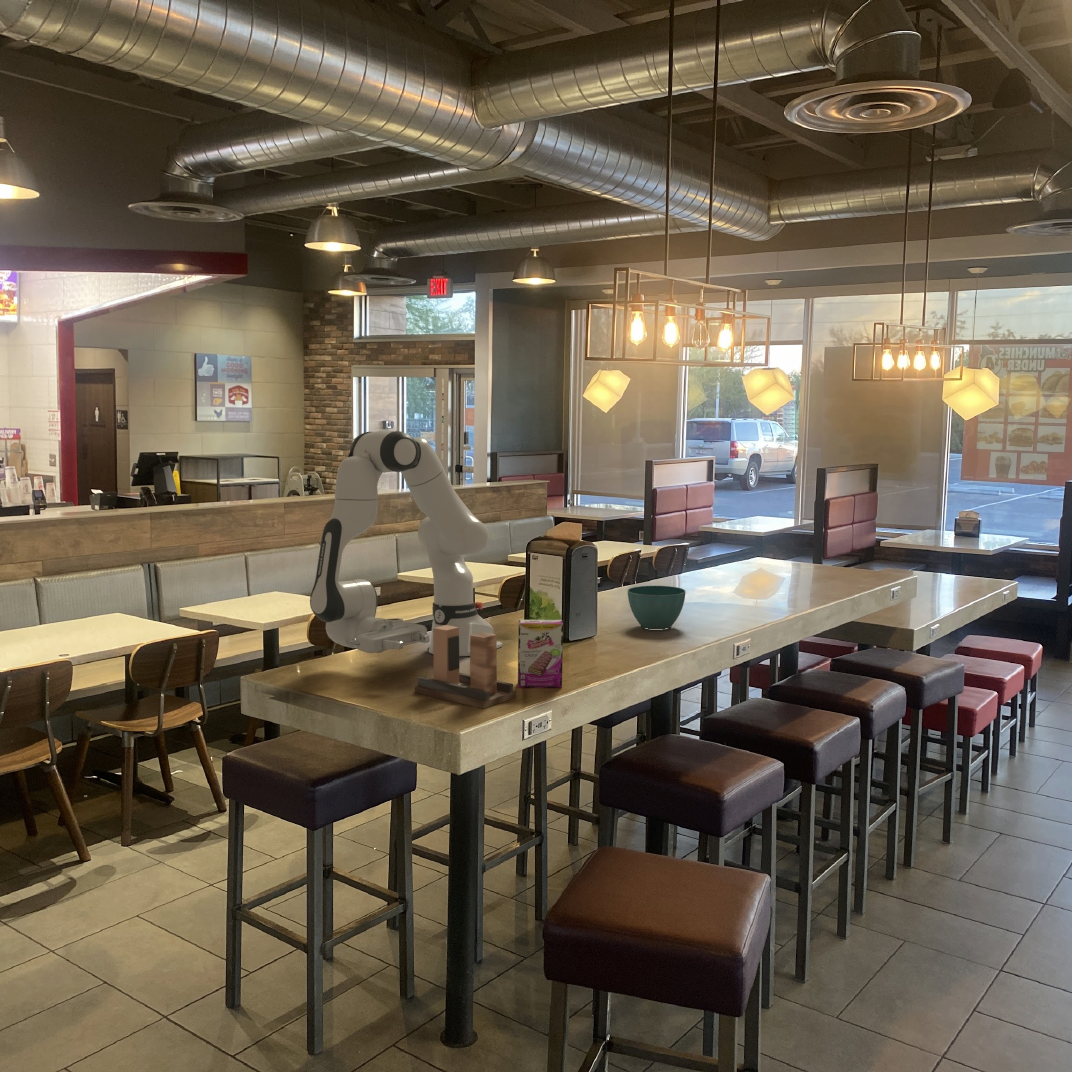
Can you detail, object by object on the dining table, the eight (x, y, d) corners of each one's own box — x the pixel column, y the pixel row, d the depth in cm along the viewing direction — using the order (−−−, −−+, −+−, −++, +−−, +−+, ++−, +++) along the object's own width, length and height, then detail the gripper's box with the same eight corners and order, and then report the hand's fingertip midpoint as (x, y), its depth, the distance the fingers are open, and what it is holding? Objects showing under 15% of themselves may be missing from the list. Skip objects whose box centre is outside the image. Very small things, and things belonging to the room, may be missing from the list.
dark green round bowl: (666, 636, 310) (667, 597, 309) (616, 629, 321) (616, 591, 320) (695, 627, 325) (695, 589, 323) (645, 620, 336) (646, 583, 334)
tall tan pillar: (446, 680, 251) (445, 625, 250) (461, 684, 248) (460, 627, 247) (433, 684, 248) (433, 627, 246) (448, 687, 245) (448, 630, 243)
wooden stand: (448, 682, 256) (447, 622, 254) (516, 697, 243) (515, 633, 241) (414, 692, 247) (413, 629, 245) (483, 708, 233) (482, 642, 231)
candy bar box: (517, 688, 251) (517, 623, 249) (517, 683, 256) (517, 619, 254) (563, 688, 251) (563, 622, 249) (562, 683, 256) (562, 618, 254)
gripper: (345, 629, 254) (383, 637, 245) (403, 617, 270) (441, 623, 261) (345, 654, 254) (384, 662, 246) (403, 640, 271) (442, 647, 262)
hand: (414, 642), depth 254 cm, fingers open, 8 cm apart
